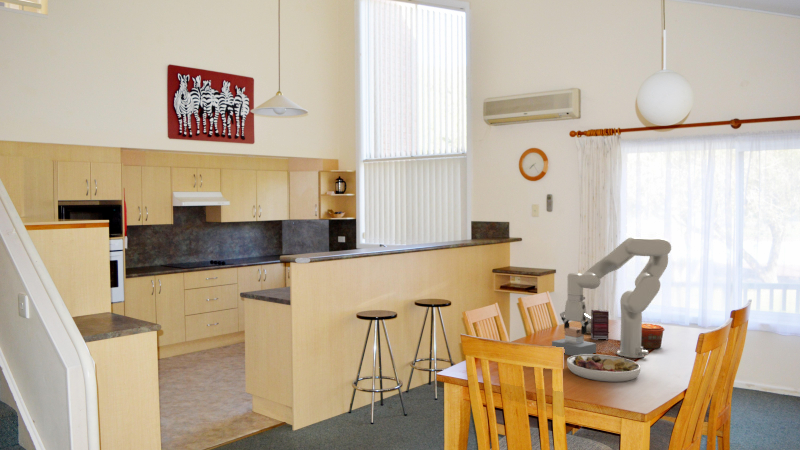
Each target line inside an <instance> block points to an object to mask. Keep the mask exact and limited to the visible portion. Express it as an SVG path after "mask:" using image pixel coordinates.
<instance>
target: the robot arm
mask: <svg viewBox="0 0 800 450" xmlns="http://www.w3.org/2000/svg"><path fill="white" fill-rule="evenodd" d="M671 250H672V245H671V242H670V241H669V240H667V239H665V238H661V237H653V238H641V237H634V236H633V237H632V236H631V237H627V238H626V239H625V240H624V241H622V242H621V243H619V245H617V247H616V248H614V249H613V250H612V251H610V252H609V253H608V254H607V255H606V256H604V257H603V258H602V259H600V260H599V261H597V262H596V263H594V264H593V265H591V267H590V268H588V269H587V270H586V271H585V272H584V273H583V274H582V273H579V272H569V273H568V274H567V287H566V288H567V290H566V291H567V297H566V298H567V300H566V301H565V307H564V308H565V309H564V311H562V312H560V313H559V316H560V320H562V322H563V325H564V327H563V328H564V330H565V328H568V327H570V322H569V321H571V322H578V323H580V324H581V327H580V328H581V334H584V335H586V332H587V325H588V324H589V323H590V321H591V316H589V315H588V313H587V304H586V301H584V300H586V297H585V296H584V289H589V290H595V289H598V287H600V286H601V279H603V277H605V276H606V275H608V274H610V273H612V272H615V271H617V270H619V269H620V268H622V267H623V266H625V264H626V263H628V262H629V261H630V260H632V259H633V258H634V257H636V256H638V257H648V258H649V259H648V261H647V263H646V264H645V266H644V267H643V269H642V270H641V271H640V272H639V274H638V275H637V277H636V278H635V280H634V289H633V290H626V291H625V292H623V293H622V295H621V297H620V299H619V300H620V301H619V302H620V346H619V347H620V349H618V350H617V351H616V355H618V356H619V357H623V356H624V357H623V358H631V359H638V358H639V359H641V358H644V357H645V356H648V355H649V350H646V349H645V348H643V347H641V334H642V324H643V316H642V315H643V313H642V312H644V311H645V310H646V309H647V308H648V307H649V305H650V304H651V303H652V301H653V300H654V299H655V297H656V296H657V294H658V293H659V291H660V289H661V281H660V279H661V277H662V275H664V272H665V270H666V269H667V267H668V264H669V254H670V253H671Z"/></svg>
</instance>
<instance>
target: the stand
mask: <svg viewBox="0 0 800 450" xmlns="http://www.w3.org/2000/svg"><path fill="white" fill-rule="evenodd" d="M552 346H556V347H564V349H565V354H564V355H567V356H570V357H571V356H575V355H583V354H593V353H596V354H597V343H596V342H592V341H591V342H590V341H586V340H584V343H580V344H572V343H567V342H565V338H560V339H557V340H552V341H551V347H552Z"/></svg>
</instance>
